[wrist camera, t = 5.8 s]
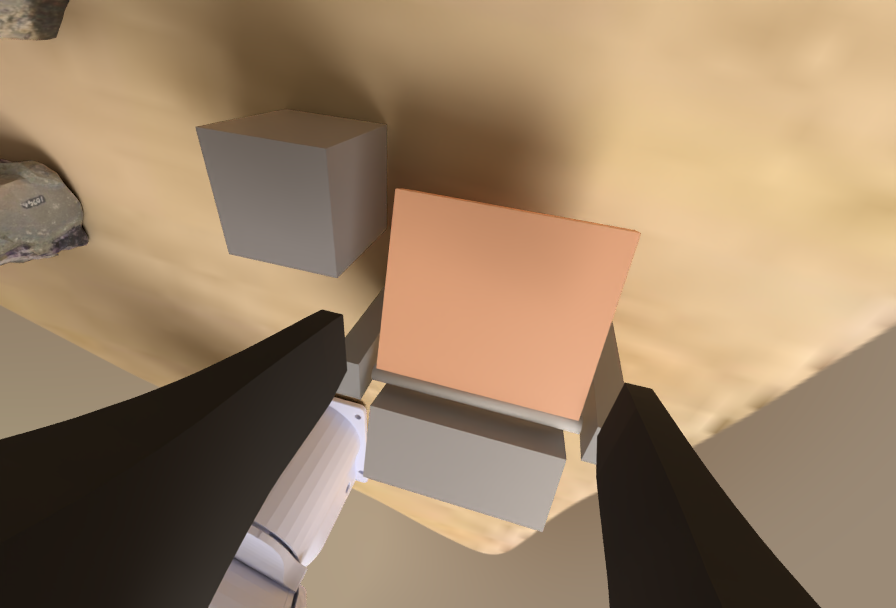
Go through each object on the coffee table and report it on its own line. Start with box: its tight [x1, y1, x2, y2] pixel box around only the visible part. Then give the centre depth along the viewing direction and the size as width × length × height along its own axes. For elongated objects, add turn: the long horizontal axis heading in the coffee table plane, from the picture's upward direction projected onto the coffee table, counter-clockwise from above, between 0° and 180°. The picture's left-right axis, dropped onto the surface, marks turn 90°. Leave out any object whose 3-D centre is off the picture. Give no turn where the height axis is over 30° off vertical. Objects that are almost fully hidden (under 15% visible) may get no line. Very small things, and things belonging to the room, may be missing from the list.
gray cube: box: [196, 109, 387, 278], centre depth 16 cm, size 5×5×5 cm
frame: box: [336, 287, 624, 464], centre depth 17 cm, size 2×11×7 cm, turn 84°
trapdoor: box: [363, 188, 641, 532], centre depth 15 cm, size 12×8×2 cm
